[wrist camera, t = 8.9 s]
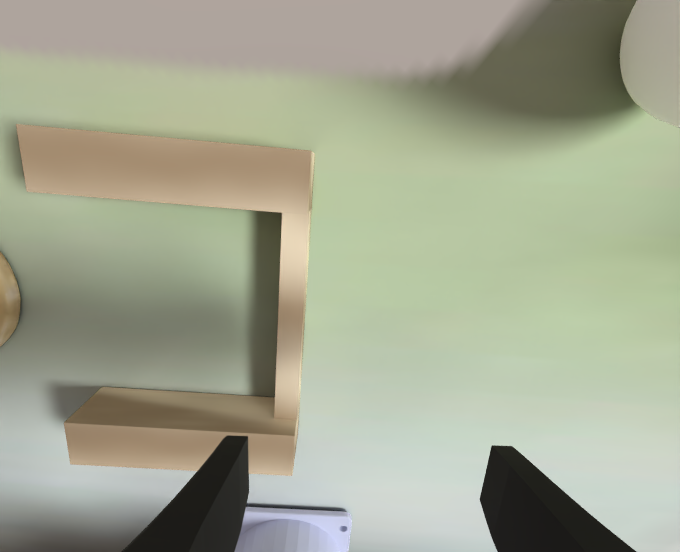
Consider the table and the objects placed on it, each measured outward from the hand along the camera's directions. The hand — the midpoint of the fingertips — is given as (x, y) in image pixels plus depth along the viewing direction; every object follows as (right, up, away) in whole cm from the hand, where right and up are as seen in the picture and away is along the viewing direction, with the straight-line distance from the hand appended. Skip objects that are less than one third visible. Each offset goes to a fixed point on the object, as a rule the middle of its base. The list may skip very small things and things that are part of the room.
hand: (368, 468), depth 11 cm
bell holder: (-9, +4, +8) cm, 13 cm away
